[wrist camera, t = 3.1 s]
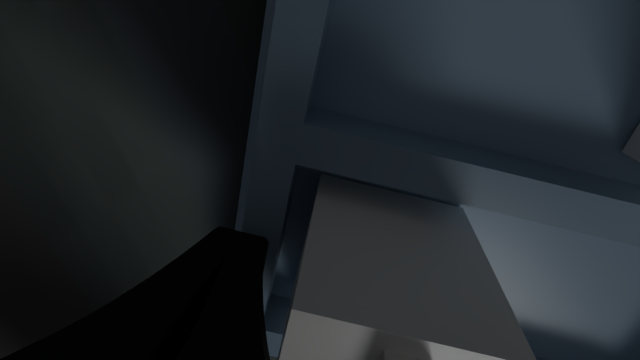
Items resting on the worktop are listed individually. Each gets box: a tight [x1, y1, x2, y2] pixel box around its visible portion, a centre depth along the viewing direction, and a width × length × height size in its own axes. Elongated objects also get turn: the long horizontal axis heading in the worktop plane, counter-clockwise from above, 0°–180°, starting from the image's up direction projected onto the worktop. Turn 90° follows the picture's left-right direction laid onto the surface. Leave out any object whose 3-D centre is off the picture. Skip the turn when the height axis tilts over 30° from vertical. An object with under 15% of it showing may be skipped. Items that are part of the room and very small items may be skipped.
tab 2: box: [277, 174, 536, 360], centre depth 9 cm, size 4×4×6 cm
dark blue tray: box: [235, 0, 640, 360], centre depth 10 cm, size 14×19×3 cm
